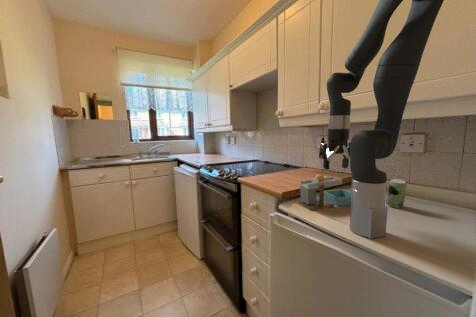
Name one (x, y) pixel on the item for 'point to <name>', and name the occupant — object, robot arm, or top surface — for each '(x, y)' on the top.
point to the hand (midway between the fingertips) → (335, 168)
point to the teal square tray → (338, 197)
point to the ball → (319, 177)
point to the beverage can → (396, 193)
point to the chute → (310, 188)
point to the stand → (318, 201)
